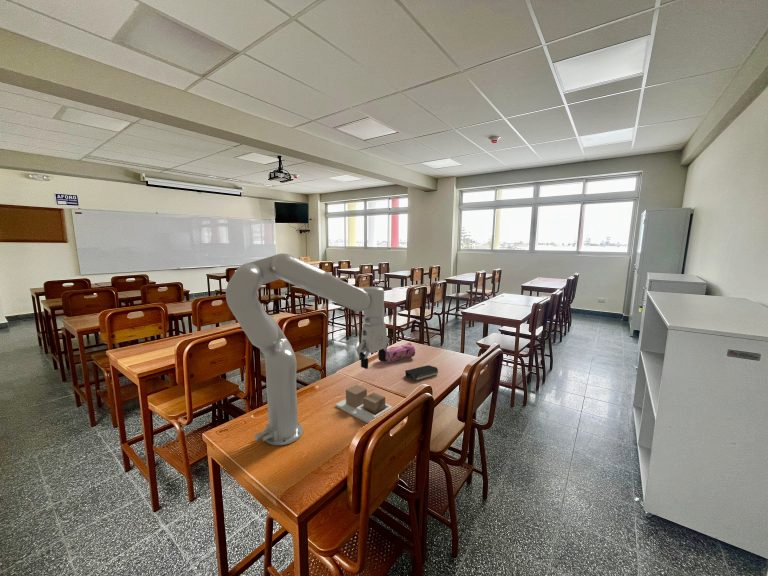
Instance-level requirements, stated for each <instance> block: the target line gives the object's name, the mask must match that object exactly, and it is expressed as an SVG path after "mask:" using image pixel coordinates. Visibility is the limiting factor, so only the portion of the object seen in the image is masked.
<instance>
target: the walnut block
mask: <svg viewBox="0 0 768 576" xmlns="http://www.w3.org/2000/svg"><path fill="white" fill-rule="evenodd" d="M385 403H386V396H384V395H381V394H379V393H378V392H372V393H369V394H367V396H366V397H364V398H363V409H364V410H366V411H368V412H370V413H372V414H374V415H376V414H378V413H380V412H381V411H383V410H384V409H385Z"/></svg>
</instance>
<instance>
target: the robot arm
mask: <svg viewBox="0 0 768 576" xmlns="http://www.w3.org/2000/svg"><path fill="white" fill-rule="evenodd" d="M278 280H281V281H284V282H285V283H288V284H290V285H293V286H295V287H297V288H300V289H302V290H304V291H307V292H310V293H311V294H314V295H316V296H318V297H320V298H323V299H325V300H326V299H327V300H328V301H331V302H333V303H336V304H338V305H341V306H343V307H345V308H347V309H349V310H351V311H355V312H363V320H362V322H363V325H362V329H361V337H360V343H359V344H358V346H356V347H355V351H356V353H357V355H358V356H359V358H360V367H361V368H363V369H366V370H368V369H369V358H368V357H369V354H372V353H373V354H374V353H376V352H378V351H379V357H378V361H380V360H381V361H384V362H385V361H386V352H385V351H387V349H388V346H389V342H390V337H388V332H387V325H386V322H385V289H384V288H383V287H381V286H367V287H361V286H355V285H353V284H350V283H348V282H346V281H344V280H341V279H340V278H339V277H336V276H334V275H333V274H331V273H329V272H327V271H325V270H323V269H321V268H319V267H317V266H314V265H312V264H311V263H308V262H306V261H303V260H302V259H299V258H297V257H295V256H293V255H290V254H288V253H278V254H277V253H276V254H275V255H271V256H267V257H265V258H262V259H261V258H260V259H257V260H254V261H250V262H247V263H244V264H241V265H240V266H239V267H238V268H236V270H234V273H233V275H232V276H231V277H230V279H229V281H228V282H227V286H226V289H225V300H226V303H227V307H228V308H229V310H230V311H231V312H232V315H233V316H234V317H235V319H236V321H237V323H238V324H239V326H240V327H241V329H242V330H243V332H244V333H245V335H246V337H247V339H248V340H249V342H250V343H251V345H253V346H254V347H256V348H258V349H259V350H260V352H261V353H262V354H263V356H264V362H265V363H264V365H265V366H264V367H265V377H266V378H265V379H266V395H267V396H266V398H267V399H266V400H267V418H268V423H267V424H266V425H265V429H263V431H260V432H258V433H256V434H254V439H255V441H257V442H258V441H259V440H261V439H262V441H263V442H266V443H267V444H269V445H271V446H284V445H289V444H292V443H294V442H296V441H297V440H299V439H300V438H301V436H302V435H303V433H304V432H303V431H304V430H303V429H304V428H303V425H302V424H301V423H299V420H298V419H299V417H298V396H297V392H298V391H297V370H298V369H297V367H298V366H297V364H298V363H297V357H296V354H295V351H294V349H293V348H292V345H291V343H290V341H289V339H288V338H287V337H286V335H285V333H284V331H283V330H282V329H281V327H280V326H279V324H278V322H277V321H276V319H275V318H274V317H273V316H271V315H269V314H268V313H267V312H266V310H265V308H264V306H263V304H262V303H261V301H260V300H259V299H258V291H259V289H260V288H261V287H262V285H265V284H269V283H272V282H276V281H278ZM381 361H380V362H381Z"/></svg>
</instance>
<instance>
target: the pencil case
mask: <svg viewBox="0 0 768 576" xmlns="http://www.w3.org/2000/svg"><path fill="white" fill-rule="evenodd" d="M385 352H386V361H385V362H384V361H381V360H379V362H381V364H383V365H387V364H389V363H392V362H395V361H398V360H402V359H407V358H408V359H409V358H412V357H415V356H416V348H415V346H414V345H413V343H411V342H408V343H405V344H402V345H398V346H394V347H391V348H387V351H385ZM377 357H378V358H379V351H377Z"/></svg>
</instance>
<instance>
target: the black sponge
mask: <svg viewBox="0 0 768 576" xmlns="http://www.w3.org/2000/svg"><path fill="white" fill-rule="evenodd" d="M404 373H405V377H407V378H410V379H411V380H414V381H419V380H422V379H423V380H424V379H426V378H430V377H433V376H436V375H438V373H439V369H438V368H437V367H436V366H433V365H430V364H429V365H427V364H426V365H423V366H419V367H414V368H411V369H407V370H405V371H404Z"/></svg>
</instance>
